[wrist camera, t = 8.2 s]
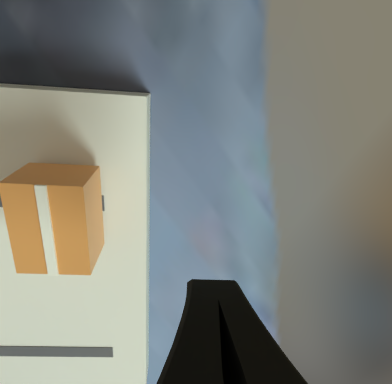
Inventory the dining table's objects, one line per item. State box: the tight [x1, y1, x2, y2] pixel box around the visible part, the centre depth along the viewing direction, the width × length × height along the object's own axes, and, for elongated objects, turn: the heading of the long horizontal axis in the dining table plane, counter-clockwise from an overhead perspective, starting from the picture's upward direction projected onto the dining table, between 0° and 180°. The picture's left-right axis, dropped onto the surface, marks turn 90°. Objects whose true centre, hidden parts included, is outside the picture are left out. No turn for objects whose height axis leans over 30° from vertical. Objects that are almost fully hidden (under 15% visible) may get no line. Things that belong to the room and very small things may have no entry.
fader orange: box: [0, 162, 105, 276], centre depth 13 cm, size 4×3×2 cm
